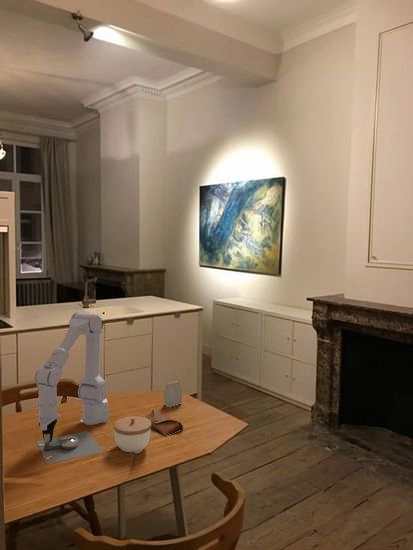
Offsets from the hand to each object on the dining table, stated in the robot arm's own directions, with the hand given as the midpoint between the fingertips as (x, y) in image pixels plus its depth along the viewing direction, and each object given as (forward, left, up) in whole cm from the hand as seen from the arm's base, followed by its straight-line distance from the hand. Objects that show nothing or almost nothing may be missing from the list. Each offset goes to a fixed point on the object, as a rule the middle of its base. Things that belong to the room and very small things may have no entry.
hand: (48, 441), depth 152 cm
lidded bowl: (-25, +12, -3) cm, 28 cm away
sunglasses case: (-41, 0, -4) cm, 42 cm away
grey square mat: (-6, +2, -3) cm, 7 cm away
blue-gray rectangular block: (-55, -18, -3) cm, 58 cm away
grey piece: (-4, +2, -2) cm, 5 cm away
